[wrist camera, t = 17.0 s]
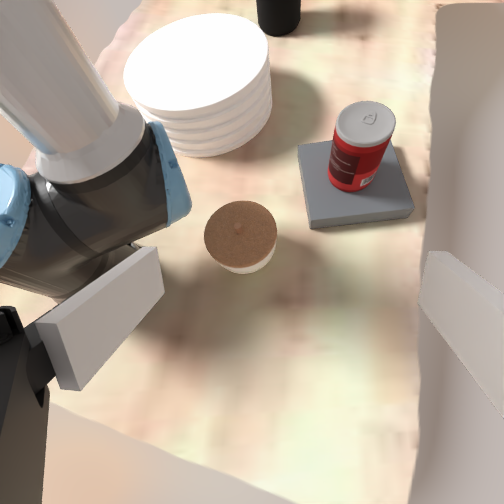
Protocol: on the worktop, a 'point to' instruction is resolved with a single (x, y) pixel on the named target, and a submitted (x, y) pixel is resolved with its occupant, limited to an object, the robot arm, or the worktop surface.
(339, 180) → the canned food
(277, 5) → the coffee jar
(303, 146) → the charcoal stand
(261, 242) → the lidded jar
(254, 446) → the worktop surface
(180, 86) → the plate stack
